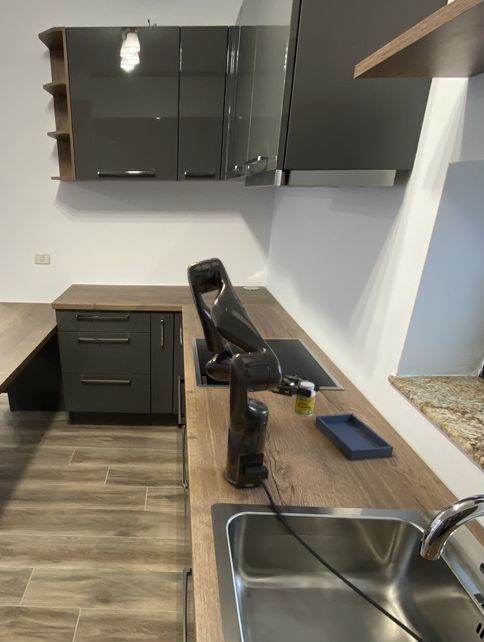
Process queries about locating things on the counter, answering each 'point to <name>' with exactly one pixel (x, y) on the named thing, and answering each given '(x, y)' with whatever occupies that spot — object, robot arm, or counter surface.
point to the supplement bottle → (305, 401)
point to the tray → (353, 436)
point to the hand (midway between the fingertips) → (315, 391)
